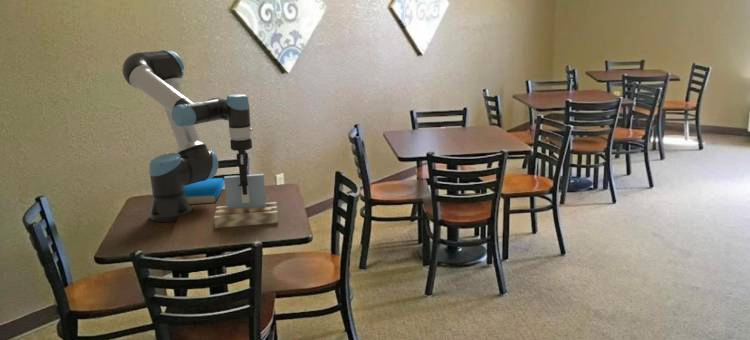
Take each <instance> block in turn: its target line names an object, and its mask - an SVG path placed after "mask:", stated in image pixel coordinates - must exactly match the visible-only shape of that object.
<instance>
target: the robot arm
mask: <svg viewBox="0 0 750 340" xmlns="http://www.w3.org/2000/svg"><path fill="white" fill-rule="evenodd" d="M184 69H185V65H184V62H183V60H182V58H181V57H180V55H178V54H177V52H175V51H173V50H156V51H144V52H142V51H139V52H135V53H133V54H131V55H129V56H128V57H127V58H126V59H125V60H124V62H123V64H122V69H121V70H122V76H123V78H124V79H125V82H127V84H129V85H130V86H131V87H132V88H134V89H136V90H141V91H142V92H144V93H145V94H146V95H148V96H149V97H150V98H152V99H153V100H154V101H156V103H158V104H160V105H161V106H162V107H163V108H164V110H165V111H164V112H165V113H166V116H167V118H168V122H169V124H170V127H171V130H172V133H173V135H174V138H175V141H176V144H177V147H178V149H177V151H176V152H169V153H165V154H159V155H158V156H155V157H154V158H152V159H151V160H150V162H149V164H148V168H149V169H148V173H149V175H150V177H149V178H150V185H151V193H152V203H151V205H150V206H151V207H150V211H149V216H150V220H151V221H153V222H156V223H157V222H158V223H173V222H177V221H178V220H179V218H181V217H184V216H187V215H189V214H190V213H191V212H192V206H191V204H189V202H188V200H187V198H186V195H185V189H184V186H186V185H189V184H193V183H197V182H200V181H205V180H207V179H213V178H214V177H215V176H216V174H217V173H218V169H219V159H218V157H217V156H218V155H217V154H216V152H215V151H214V150H212V149H210V148H208V146H207V145H206V143H204V142H202V141H201V139H200V137H199V133H198V131H197V129H196V126H195V125H200V124H204V123H209V122H214V121H221V120H223V121H228V130H229V131H228V132H229V138H230V140H229V142H230V149H231V150H232V151H235V152H236V151H237V153H236V160H237V166H238V172H239V175H240V185H239V186H241V197H242V203H250V200H249V188H248V182H247V175H249V172H248V171H249V170H248V165H249V153H248V152H247V151H248V150H251V149H252V148H253V141H252V140H253V139H252V138H251V137H252V131H253V128H251V114H250V102H249V96H248V95H246V94H244V93H241V94H240V93H237V94H229V95H227V96H226V98H221V97H211V98H208V99H207V100H204V101H203V100H202V101H196V102H194V101H192V100H191V99H189V98H188V96H187V97H186V95H184V92H183V89H182V86H181V84H182V83H183V77H184V74H185V70H184Z"/></svg>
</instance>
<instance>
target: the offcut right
mask: <svg viewBox="0 0 750 340" xmlns="http://www.w3.org/2000/svg"><path fill="white" fill-rule="evenodd" d="M268 211H272V209H271V207H267V208H255V209H249V213H256V212H268Z"/></svg>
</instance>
